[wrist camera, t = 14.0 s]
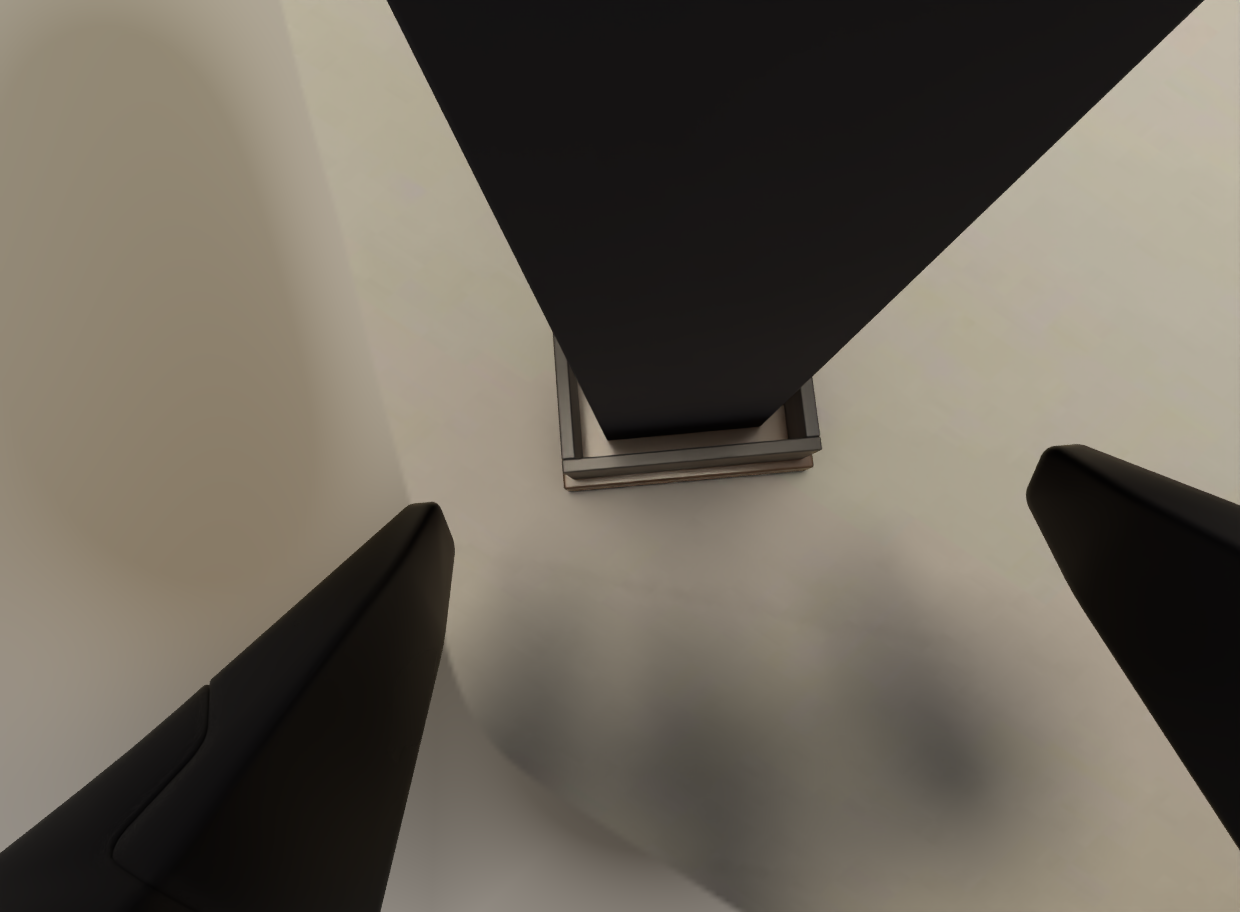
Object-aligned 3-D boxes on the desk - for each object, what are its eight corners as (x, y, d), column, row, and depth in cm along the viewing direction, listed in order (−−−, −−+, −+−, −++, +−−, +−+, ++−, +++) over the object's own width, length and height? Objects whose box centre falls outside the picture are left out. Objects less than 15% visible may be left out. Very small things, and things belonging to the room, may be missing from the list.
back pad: (761, 427, 18) (1544, -316, 2) (606, 440, 18) (307, -142, 2) (750, 337, 18) (1348, -838, 3) (599, 352, 19) (304, -642, 3)
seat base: (805, 470, 19) (835, 459, 16) (568, 491, 19) (552, 484, 16) (783, 299, 20) (807, 258, 17) (556, 323, 20) (539, 286, 17)
